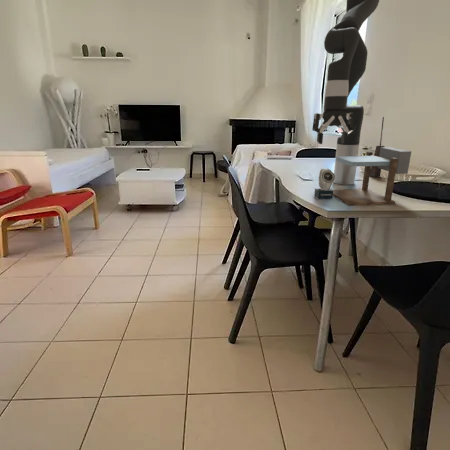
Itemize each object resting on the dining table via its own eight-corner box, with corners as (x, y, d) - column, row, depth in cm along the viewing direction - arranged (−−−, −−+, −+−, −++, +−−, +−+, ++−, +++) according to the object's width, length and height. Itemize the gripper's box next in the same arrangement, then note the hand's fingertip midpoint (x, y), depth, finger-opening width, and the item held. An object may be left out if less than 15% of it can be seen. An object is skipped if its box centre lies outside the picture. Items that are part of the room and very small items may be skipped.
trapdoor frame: (367, 190, 135) (372, 151, 129) (394, 204, 116) (402, 158, 111) (326, 192, 134) (330, 152, 128) (348, 205, 115) (354, 159, 109)
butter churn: (387, 178, 157) (397, 117, 147) (365, 177, 160) (374, 117, 150) (385, 175, 165) (394, 116, 155) (364, 174, 168) (372, 116, 158)
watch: (319, 200, 122) (322, 171, 118) (312, 195, 129) (315, 167, 126) (334, 200, 122) (337, 170, 118) (326, 194, 130) (329, 167, 126)
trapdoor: (386, 167, 129) (389, 147, 126) (408, 173, 116) (412, 151, 113) (334, 168, 127) (336, 148, 125) (350, 175, 114) (353, 152, 112)
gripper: (351, 95, 117) (345, 142, 122) (312, 95, 116) (308, 143, 121) (361, 94, 110) (355, 144, 115) (320, 95, 109) (316, 145, 114)
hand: (331, 143), depth 118 cm, fingers open, 8 cm apart
